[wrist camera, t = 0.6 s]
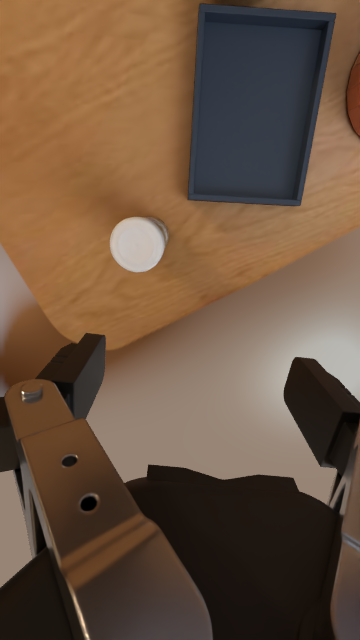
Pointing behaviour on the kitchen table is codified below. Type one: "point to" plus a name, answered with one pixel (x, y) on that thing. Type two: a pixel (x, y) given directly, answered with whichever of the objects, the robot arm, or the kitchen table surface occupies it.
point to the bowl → (354, 96)
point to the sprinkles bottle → (139, 243)
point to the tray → (256, 102)
